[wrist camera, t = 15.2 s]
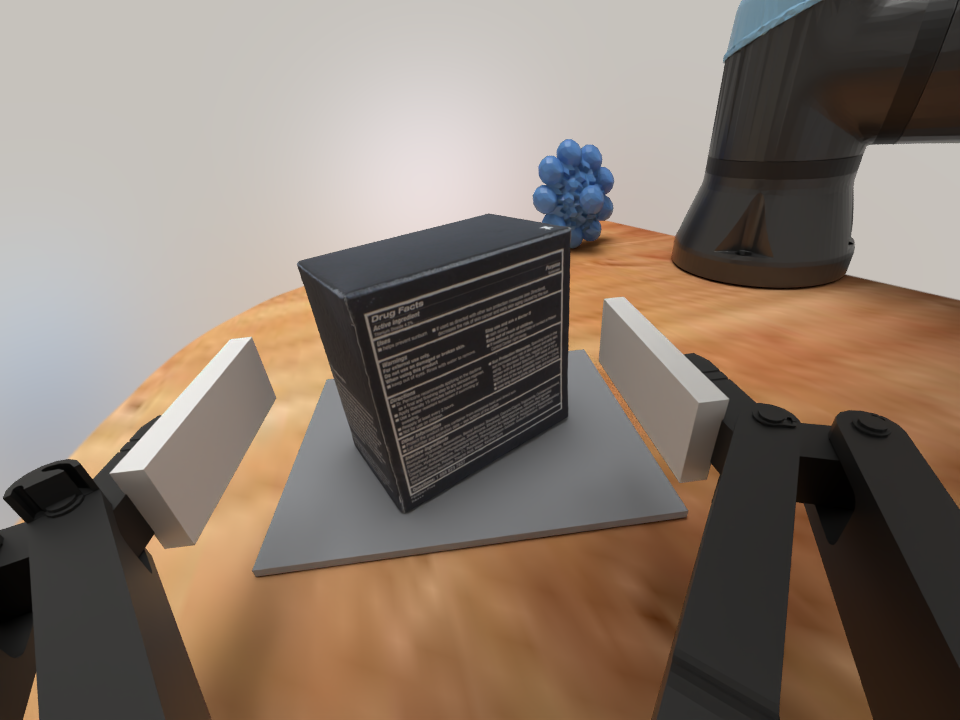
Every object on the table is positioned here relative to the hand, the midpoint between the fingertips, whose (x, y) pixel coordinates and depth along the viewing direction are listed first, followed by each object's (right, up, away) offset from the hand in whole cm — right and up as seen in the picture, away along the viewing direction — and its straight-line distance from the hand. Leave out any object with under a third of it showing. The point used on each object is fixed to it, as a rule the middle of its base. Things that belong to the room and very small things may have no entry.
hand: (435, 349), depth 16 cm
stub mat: (+1, -5, +7) cm, 9 cm away
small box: (+1, -4, +7) cm, 9 cm away
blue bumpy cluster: (+14, +13, +35) cm, 39 cm away
